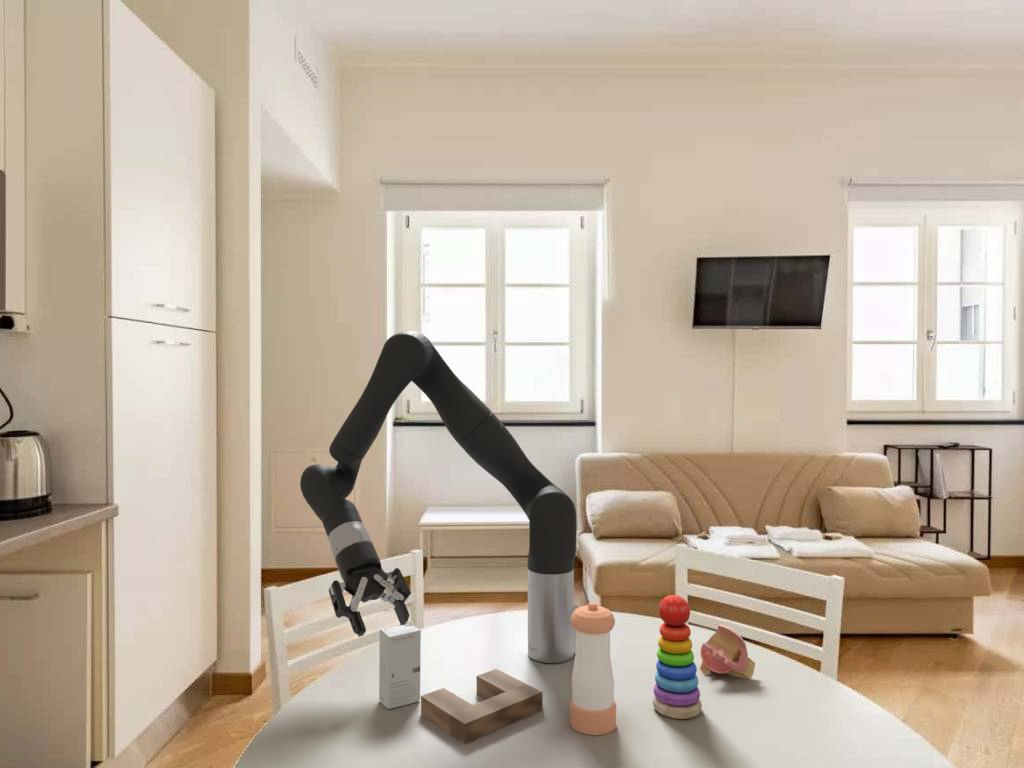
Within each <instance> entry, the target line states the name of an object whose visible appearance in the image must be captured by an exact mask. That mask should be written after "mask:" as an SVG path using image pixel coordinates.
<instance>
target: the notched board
mask: <svg viewBox="0 0 1024 768" xmlns="http://www.w3.org/2000/svg"><path fill="white" fill-rule="evenodd" d="M476 695H479V696H481V697H483V698H484V700H482V701H479V702H477V703H476V702H475V703H474V704H472V703H470V702H468V701H467V700H465V699H463V698H461V697H460V696H458V695H456V694H455V693H453V692H451V691H449V690H448V689H446V688H445V687H442V688H439V689H437V690H435V691H431V692H428V693H425V694H422V695H420V715H421V716H423V717H424V718H425V719H426V720H429V721H430V722H431V723H433V724H435V726H438V727H439V728H440V727H441V728H440V729H442V730H444V731H445V732H446V731H447V732H446V733H448V734H449V733H450V735H451V736H452V737H454V738H456V739H457V740H458V741H460V742H461V741H462V742H461V743H463V744H465V745H466V744H468V743H470V742H471V743H472V742H473V741H475V740H478V739H480V738H482V737H485V736H487V735H489V734H491V733H494V732H496V731H497V730H500V729H502V728H504V727H507V726H509V725H512V724H514V723H517V722H518V721H521V720H523V719H525V718H527V717H531V716H532V715H534V714H537V713H539V712H541V711H543V691H541V690H540V689H538V688H536V687H533V686H531V685H530V684H527V683H526V682H524V681H522V680H519V679H517V678H515V677H513V676H512V675H509V674H508V673H506V672H504V671H502V670H501V669H498V668H495V669H493V670H489V671H486V672H484V673H482V674H478V675H476Z"/></svg>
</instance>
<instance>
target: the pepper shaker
mask: <svg viewBox="0 0 1024 768" xmlns="http://www.w3.org/2000/svg"><path fill="white" fill-rule="evenodd" d="M570 620H571V623H572V626H573V628H574V629H575V630H576V652H575V654H574V656H575V657H574V662H573V668H572V676H571V690H572V693H571V695H572V696H571V698H570V701H569V723H570V726H571V728H573V730H575V731H576V732H578V733H581V734H585V735H589V736H602V735H607V734H609V733H612V732H613V731H614V730H615V729H616V727H617V703H616V700H615V698H614V694H615V692H614V691H615V678H614V672H613V666H612V660H611V631H612V630H613V628H614V627H615V625H616V624H615V623H616V620H615V617H614V615H613V613H612V611H611V610H610V609H609V608H606V607H604V606H601V605H598V604H597V602H589V603H588V604H586V605H582V606H579V607H577V609H575V611H574V612H573V614H572V615H571V619H570Z"/></svg>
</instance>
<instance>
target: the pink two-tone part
mask: <svg viewBox="0 0 1024 768" xmlns="http://www.w3.org/2000/svg"><path fill="white" fill-rule="evenodd" d="M748 654H749V653H748V649H747V643H746V642H745V640H744V639H743V637H742V636H741V635H740V634H739V633H738V632H737V631H736V630H734V629H733V628H732V627H730V626H727V625H724V624H717V630H716V631H715V633H714V634H713V635H711V636H710V638H709V639H708V640H707V641H706V642H704V643H702V645H701V647H700V658H701V661H700V662H701V663H700V666H699V670H700V672H702V674H704V675H705V676H708V674H709V672H710V671H712V672H713V673H716V674H730V675H732V676H737V677H740V678H743V679H747V680H751V679H752V677H753V675H754V673H755V668H756V662H755V661H753V660H752V659H751V658H750V657H749V655H748Z"/></svg>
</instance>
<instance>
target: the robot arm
mask: <svg viewBox="0 0 1024 768" xmlns="http://www.w3.org/2000/svg"><path fill="white" fill-rule="evenodd" d="M379 354H380V355H379V357H378V359H377V362H376V364H375V366H374V369H373V372H372V374H371V376H370V378H369V381H368V382H367V385H366V387H365V388H364V390H363V392H362V394H361V396H360V397H359V399H358V400H357V402H356V404H355V405H354V407H353V408H352V409H351V411H350V413H349V414H348V416H347V417H346V419H345V420H344V422H343V423H342V425H341V427H340V429H339V430H338V431H337V433H336V435H335V437H334V438H333V440H332V442H331V443H330V445H329V450H328V451H329V454H330V456H331V458H332V459H333V460H335V461H336V462H337V464H336V465H335V466H329V465H325V464H312V465H308V466H307V467H306V468H305V469H304V470H303V472H302V473H301V477H300V482H299V483H300V484H299V486H300V491H301V493H302V496H303V498H304V499H305V502H306V503H307V504H308V506H309V507H310V508H311V510H312V512H313V513H314V514H315V515H316V516H317V518H318V519H319V520H320V521H321V523H322V525H323V528H324V531H325V533H326V534H325V535H326V536H327V540H328V542H329V548H330V550H331V554H332V557H333V559H334V561H335V564H336V567H337V570H338V572H339V575H340V578H341V580H342V582H340V581H339V580H337V579H336V580H333V581H332V583H331V585H330V586H329V588H328V593H329V596H330V600H331V603H332V607H333V610H334V614H335V616H336V618H339V619H340V618H342V617H345V618H347V619H348V621H349V624H350V625H351V626H350V627H351V628H352V631H353V633H354V634H355V635H357V636H358V637H359V638H360V637H363V636H364V635H365V634H366V632H367V628H366V626H365V625H366V624H365V623H364V620H363V618H362V615H361V612H360V611H358V609H359V605H360V602H362V603H363V604H364V603H366V602H368V601H376V600H379V599H380V600H382V601H383V602H385V603H386V602H388V603H389V604H391V605H392V606H393V607H394V608H393V610H394V611H395V612H394V613H395V615H396V617H397V620H398V622H399V624H400V626H402V625H407V624H408V622H409V619H410V612H409V610H408V608H407V606H406V603H405V602H407V600H408V598H409V597H410V595H412V594H411V593H412V592H411V589H410V587H409V586H408V583H407V581H406V580H405V577H404V575H403V573H402V571H401V570H400V568H398V567H396V568H394V569H393V571H390V572H385V570H384V569H383V568H382V563H381V560H380V557H379V555H378V553H377V550H376V548H375V545H374V543H373V540H372V538H371V536H370V533H369V531H368V530H367V528H366V527H365V524H364V523H363V520H362V518H361V515H360V513H359V511H358V509H357V506H356V505H355V503H353V502H352V501H350V500H349V499H347V498H348V497H349V496H350V495H351V493H352V491H353V490H354V488H355V485H356V482H357V478H358V475H359V471H360V469H361V468H360V467H361V465H362V461H363V459H364V458H365V457H366V455H367V453H368V451H369V450H370V448H371V447H372V445H373V444H374V442H375V441H376V439H377V437H378V435H379V434H380V431H381V430H382V426H383V425H384V422H385V421H386V419H387V417H388V414H389V412H390V410H391V408H392V407H393V405H394V404H395V402H396V401H397V399H398V398H399V396H400V395H401V393H403V391H404V390H405V389H406V388H407V387H408V385H409V384H411V382H412V383H413V384H414V385H416V386H417V387H418V388H419V389H420V391H421V392H422V393H424V395H425V396H426V397H427V399H429V401H430V402H431V404H432V405H433V406H434V408H435V410H436V412H437V413H438V415H439V417H440V420H441V421H442V423H443V425H444V426H445V427H446V429H447V431H448V433H449V434H450V435H451V437H452V438H453V439H454V440H455V442H456V443H458V446H460V447H461V448H462V449H463V451H464V452H465V453H466V454H467V455H469V457H470V458H471V459H472V460H473V461H474V462H475V463H476V464H477V465H478V466H479V467H480V468H482V469H483V470H484V471H486V472H487V473H488V474H489V475H490V476H491V477H493V478H494V479H495V480H496V481H498V482H499V484H502V486H503V487H504V488H505V489H506V490H507V491H508V492H509V493H510V495H511V496H512V498H513V499H515V501H516V503H518V505H519V507H520V509H522V511H523V512H524V513H525V515H526V517H527V519H528V521H529V523H528V524H529V526H528V527H529V529H528V530H529V532H528V533H529V540H528V541H529V544H528V545H529V547H528V555H527V655H528V657H529V658H530V659H532V660H534V661H536V662H539V663H544V664H545V663H546V664H559V663H560V664H561V663H564V662H568V661H570V660H572V659H573V658H574V656H575V652H576V630H575V629H574V628H573V626H572V623H571V620H570V619H571V615H572V614H573V612H574V611H575V609H577V608H578V605H577V604H575V594H574V592H575V585H574V584H575V583H574V581H575V577H574V576H575V574H574V573H575V571H574V568H575V557H576V553H577V511H576V505H575V504H574V501H573V500H572V498H571V497H570V496H569V495H568V494H567V493H566V492H564V490H562V489H561V488H560V487H558V486H557V485H556V484H554V483H553V482H552V481H551V480H550V479H549V478H547V476H545V474H543V473H542V472H541V471H540V470H539V469H538V468H537V467H536V466H535V465H534V464H533V463H532V462H531V461H530V459H529V458H528V457H527V456H526V454H525V452H524V451H523V449H522V448H521V446H520V444H519V443H518V442H517V440H516V439H515V437H514V436H513V435H512V433H511V432H510V430H508V428H507V427H506V426H505V425H504V423H503V422H502V421H501V420H500V419H499V418H498V417H497V416H496V414H495V413H494V412H493V411H492V410H491V409H490V408H489V407H488V406H487V405H486V404H485V403H484V402H483V401H482V400H481V399H480V398H479V397H478V395H476V394H475V393H474V392H473V391H472V389H470V388H469V387H468V386H467V385H466V384H465V383H464V382H463V381H462V380H461V379H460V378H459V377H458V376H457V375H456V374H455V373H454V371H453V370H452V369H451V368H450V366H449V365H448V364H447V363H446V360H444V358H443V357H442V356H441V354H440V353H439V352H438V350H437V349H436V347H435V346H434V344H433V343H432V342H431V341H430V339H429V338H428V337H427V336H426V335H424V334H423V333H421V332H419V331H416V330H405V331H400V332H397V333H395V334H393V335H391V336H390V337H389V338H387V340H386V341H385V343H384V344H383V347H382V349H381V351H380V353H379ZM388 581H389V582H388ZM344 591H346V592H347V593H348V594H349V595H351V599H350V602H349V605H347V604H346V600H345V597H344ZM385 591H386V592H385Z"/></svg>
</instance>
